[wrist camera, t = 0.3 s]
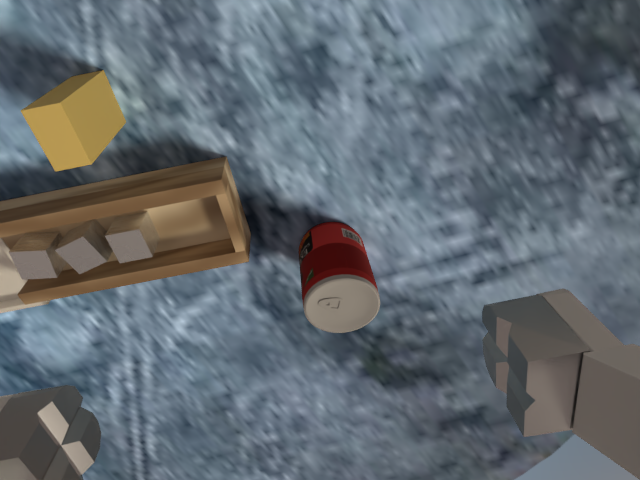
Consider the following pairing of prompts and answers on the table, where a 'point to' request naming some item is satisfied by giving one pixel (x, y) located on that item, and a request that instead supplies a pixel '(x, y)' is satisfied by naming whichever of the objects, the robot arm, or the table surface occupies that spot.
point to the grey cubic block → (133, 237)
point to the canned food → (337, 279)
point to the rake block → (75, 120)
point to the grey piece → (85, 246)
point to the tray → (11, 283)
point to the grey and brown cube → (38, 255)
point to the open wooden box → (130, 198)
